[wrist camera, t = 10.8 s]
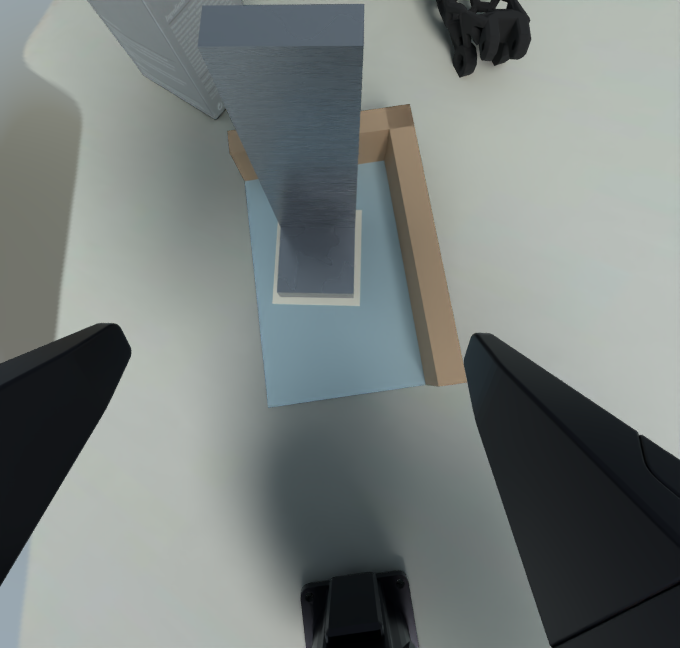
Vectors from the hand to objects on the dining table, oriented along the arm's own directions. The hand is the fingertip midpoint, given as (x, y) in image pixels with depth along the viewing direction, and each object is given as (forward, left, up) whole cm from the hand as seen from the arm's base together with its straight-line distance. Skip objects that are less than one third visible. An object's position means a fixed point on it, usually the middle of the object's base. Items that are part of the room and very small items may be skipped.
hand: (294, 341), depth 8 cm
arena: (+7, -2, -14) cm, 15 cm away
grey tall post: (+7, 0, -13) cm, 15 cm away
